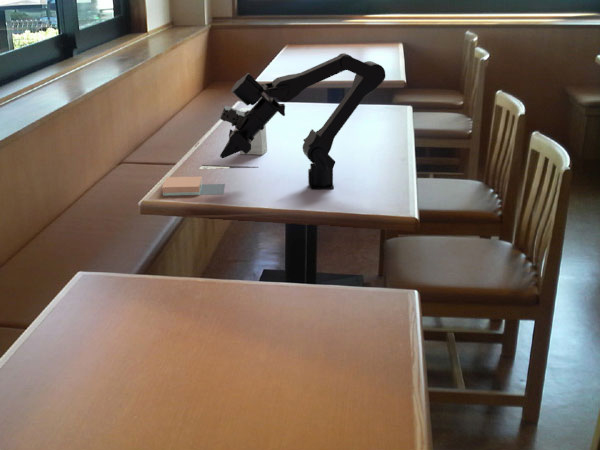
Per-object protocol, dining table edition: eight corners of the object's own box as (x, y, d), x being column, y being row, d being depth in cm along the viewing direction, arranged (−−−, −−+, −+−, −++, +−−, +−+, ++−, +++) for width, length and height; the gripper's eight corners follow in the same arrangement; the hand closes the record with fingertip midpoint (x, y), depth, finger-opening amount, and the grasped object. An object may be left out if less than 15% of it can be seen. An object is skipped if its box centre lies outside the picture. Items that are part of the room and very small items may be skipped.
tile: (201, 176, 191) (166, 177, 191) (199, 186, 183) (162, 187, 182) (202, 184, 192) (167, 185, 192) (199, 194, 184) (163, 195, 183)
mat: (225, 185, 193) (225, 183, 192) (223, 196, 184) (223, 194, 184) (178, 187, 192) (177, 185, 192) (174, 197, 184) (174, 195, 183)
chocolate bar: (252, 175, 200) (194, 173, 203) (252, 178, 200) (194, 176, 203) (258, 166, 208) (202, 164, 211) (258, 169, 209) (203, 167, 211)
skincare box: (267, 151, 227) (266, 107, 222) (262, 155, 222) (260, 111, 216) (244, 149, 229) (242, 106, 224) (238, 154, 224) (236, 110, 218)
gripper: (237, 89, 187) (201, 129, 191) (235, 103, 170) (195, 146, 174) (267, 116, 191) (230, 155, 194) (267, 132, 173) (228, 174, 177)
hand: (221, 156), depth 185 cm, fingers closed
